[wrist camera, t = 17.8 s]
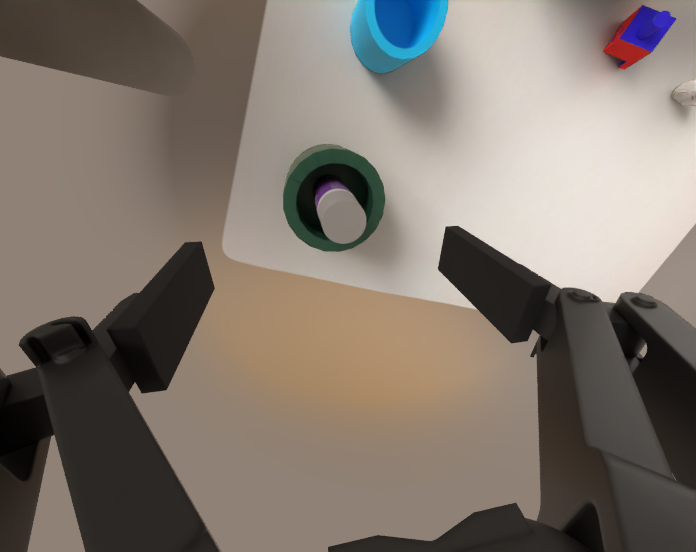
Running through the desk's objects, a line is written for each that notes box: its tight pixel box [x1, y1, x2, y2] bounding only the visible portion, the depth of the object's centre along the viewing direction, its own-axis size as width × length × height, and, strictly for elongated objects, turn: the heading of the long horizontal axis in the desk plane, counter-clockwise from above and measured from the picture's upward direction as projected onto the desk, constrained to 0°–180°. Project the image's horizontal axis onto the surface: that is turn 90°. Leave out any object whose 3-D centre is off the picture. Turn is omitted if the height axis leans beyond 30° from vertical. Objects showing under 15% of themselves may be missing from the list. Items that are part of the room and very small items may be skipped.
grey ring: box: [672, 80, 696, 106], centre depth 40 cm, size 4×2×4 cm, turn 61°
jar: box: [283, 144, 385, 252], centre depth 37 cm, size 12×12×9 cm
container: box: [313, 175, 366, 244], centre depth 33 cm, size 5×5×15 cm
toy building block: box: [603, 5, 676, 69], centre depth 35 cm, size 4×4×8 cm
